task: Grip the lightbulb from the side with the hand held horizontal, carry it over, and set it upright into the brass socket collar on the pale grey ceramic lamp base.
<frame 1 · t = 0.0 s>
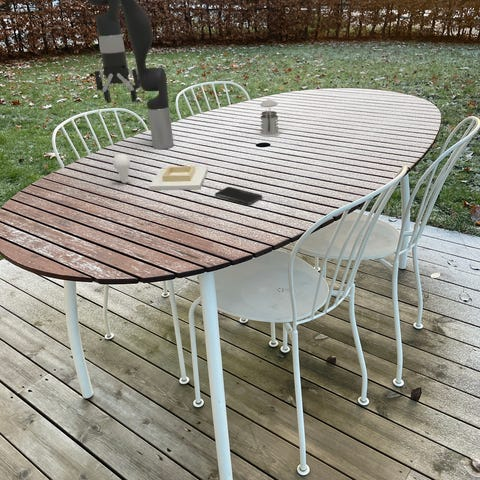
hand: (121, 102, 157), 29 cm above the table, tool pointing down, fingers open, 8 cm apart
french press: (269, 134, 218), on the table
lamp base: (179, 180, 172), on the table
phone: (238, 198, 156), on the table
lightbulb: (125, 183, 173), on the table
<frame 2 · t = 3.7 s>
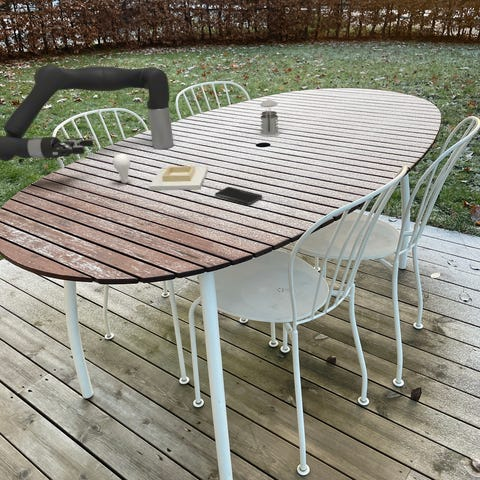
hand: (88, 146, 167), 14 cm above the table, tool horizontal, fingers open, 8 cm apart
nothing on the table moved.
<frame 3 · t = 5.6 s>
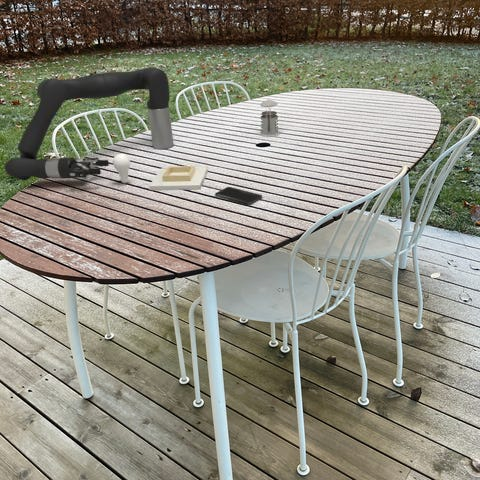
hand: (104, 167, 170), 6 cm above the table, tool horizontal, fingers open, 8 cm apart
nothing on the table moved.
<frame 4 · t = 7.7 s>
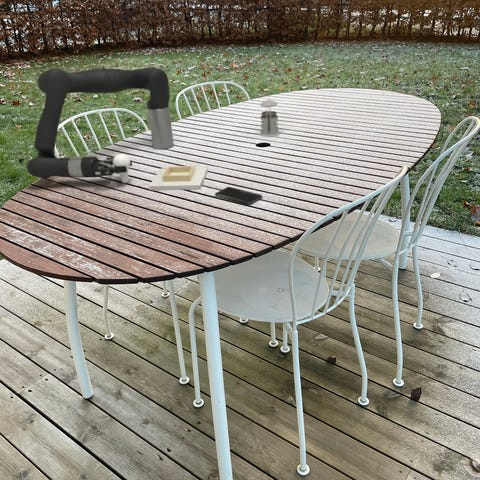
hand: (128, 166, 169), 7 cm above the table, tool horizontal, fingers closed on lightbulb, 6 cm apart
lightbulb: (125, 183, 173), on the table, touching gripper
everything else where it was.
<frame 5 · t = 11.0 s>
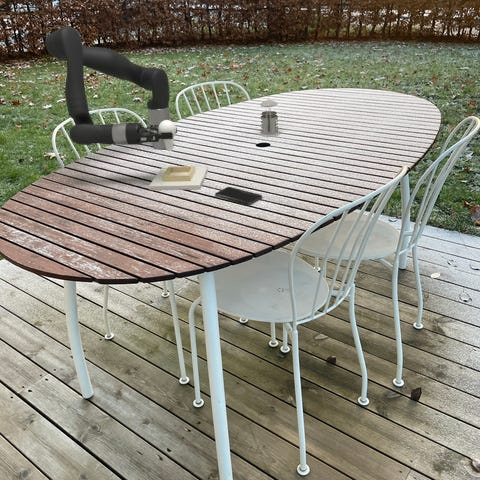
hand: (174, 132, 164), 18 cm above the table, tool horizontal, fingers closed on lightbulb, 6 cm apart
lightbulb: (169, 151, 167), point 11 cm above the table, touching gripper
everything else where it was.
when the fingers open (9 cm above the table, at t = 14.3 s): lightbulb drops 1 cm, resting on lamp base.
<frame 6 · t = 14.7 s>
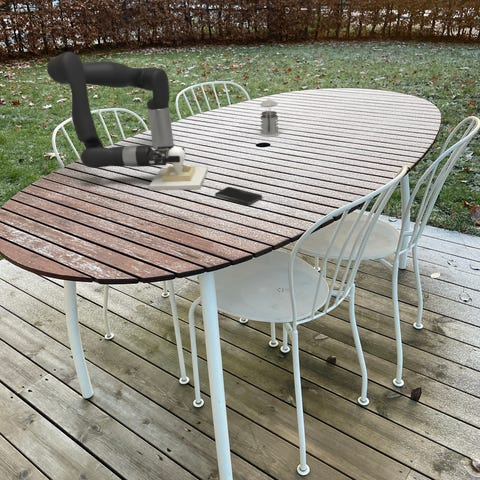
hand: (182, 155, 168), 10 cm above the table, tool horizontal, fingers open, 8 cm apart
lightbulb: (179, 176, 172), point 1 cm above the table, touching lamp base
everything else where it was.
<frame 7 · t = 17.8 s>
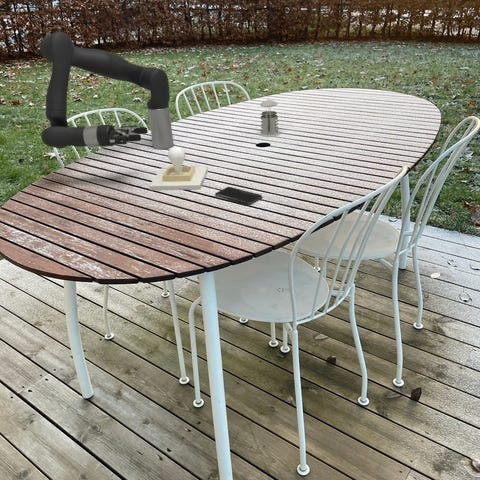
hand: (144, 133, 165), 17 cm above the table, tool horizontal, fingers open, 8 cm apart
nothing on the table moved.
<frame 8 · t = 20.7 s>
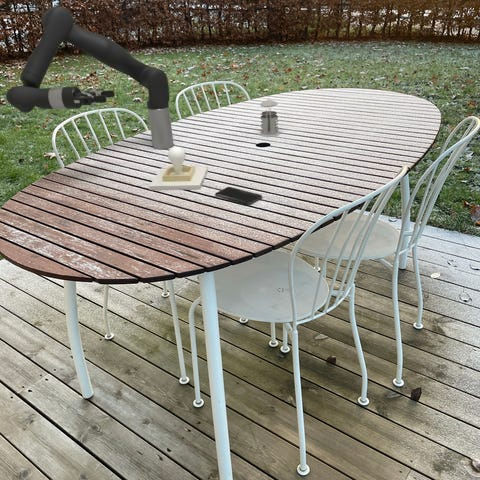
hand: (110, 96, 164), 30 cm above the table, tool horizontal, fingers open, 8 cm apart
nothing on the table moved.
at the end: lightbulb 0.1 cm off-centre on the lamp base, point 1.3 cm above the lamp base's base; lightbulb tilted 0°; the gripper is holding nothing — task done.
